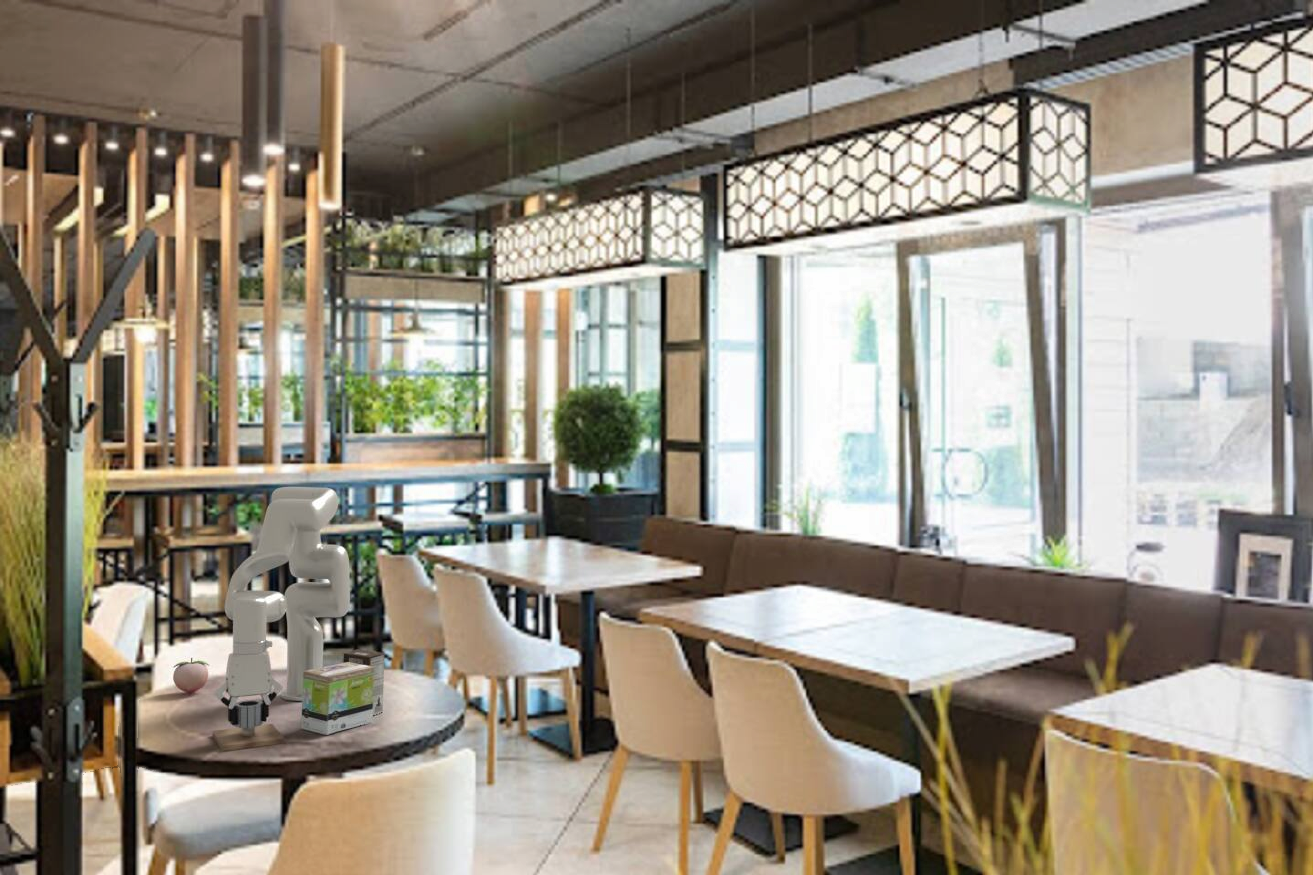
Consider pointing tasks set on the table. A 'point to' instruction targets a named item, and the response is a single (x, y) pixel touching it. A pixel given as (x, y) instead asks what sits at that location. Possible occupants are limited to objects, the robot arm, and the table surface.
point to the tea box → (337, 697)
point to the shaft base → (248, 737)
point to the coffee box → (378, 663)
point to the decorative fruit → (190, 675)
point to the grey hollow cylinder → (249, 713)
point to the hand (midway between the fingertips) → (248, 721)
